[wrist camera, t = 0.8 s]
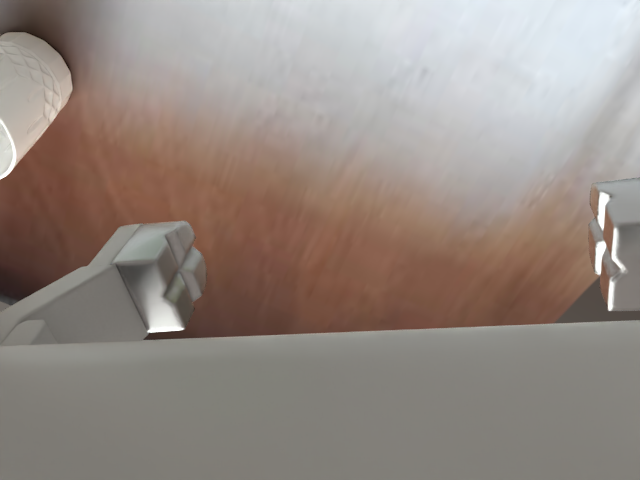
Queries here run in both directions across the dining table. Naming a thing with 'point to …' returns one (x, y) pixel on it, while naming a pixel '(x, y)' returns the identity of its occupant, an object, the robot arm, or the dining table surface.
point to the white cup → (28, 93)
